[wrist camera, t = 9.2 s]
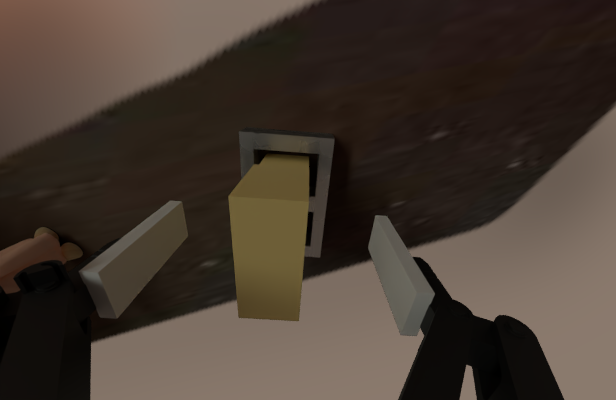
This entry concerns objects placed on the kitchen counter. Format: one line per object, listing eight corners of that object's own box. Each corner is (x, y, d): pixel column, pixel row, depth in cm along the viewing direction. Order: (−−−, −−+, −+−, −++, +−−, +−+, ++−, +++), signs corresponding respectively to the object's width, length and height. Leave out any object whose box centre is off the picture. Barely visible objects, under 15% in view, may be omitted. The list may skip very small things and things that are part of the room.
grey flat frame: (251, 238, 23) (245, 252, 21) (246, 127, 18) (239, 131, 16) (319, 243, 23) (320, 257, 21) (332, 133, 19) (334, 138, 17)
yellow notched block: (267, 227, 23) (238, 317, 14) (267, 147, 19) (228, 196, 10) (303, 230, 23) (298, 321, 14) (309, 150, 19) (308, 201, 10)
